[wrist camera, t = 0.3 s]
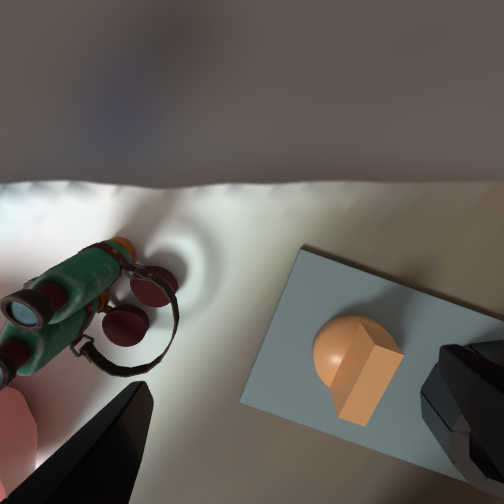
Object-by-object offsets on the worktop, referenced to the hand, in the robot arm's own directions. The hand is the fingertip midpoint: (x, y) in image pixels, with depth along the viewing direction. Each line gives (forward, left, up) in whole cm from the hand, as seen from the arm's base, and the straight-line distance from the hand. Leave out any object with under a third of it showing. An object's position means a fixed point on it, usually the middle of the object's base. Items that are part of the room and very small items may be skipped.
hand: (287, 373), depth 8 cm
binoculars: (-7, +10, -14) cm, 19 cm away
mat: (-6, -14, -14) cm, 20 cm away
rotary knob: (-5, -8, -13) cm, 16 cm away
